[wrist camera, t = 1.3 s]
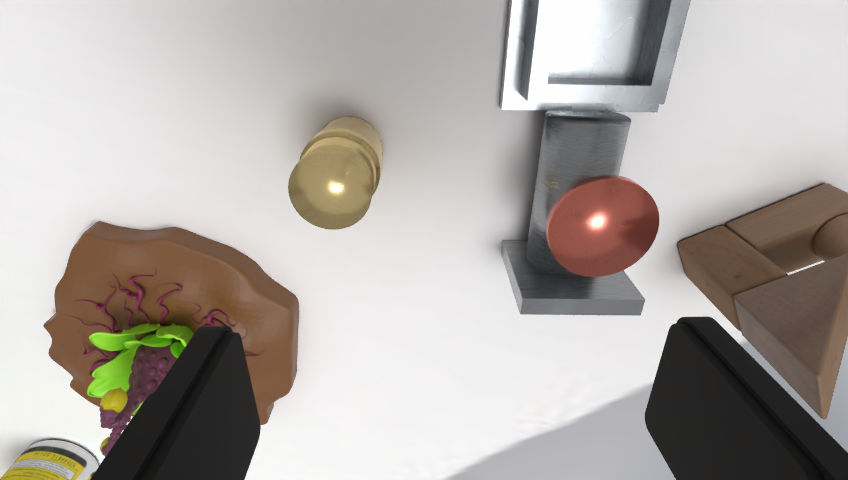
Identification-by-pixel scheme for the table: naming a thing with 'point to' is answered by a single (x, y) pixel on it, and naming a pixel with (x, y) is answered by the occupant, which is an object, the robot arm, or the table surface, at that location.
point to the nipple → (337, 174)
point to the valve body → (586, 145)
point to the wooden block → (783, 285)
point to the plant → (164, 316)
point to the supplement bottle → (53, 463)
